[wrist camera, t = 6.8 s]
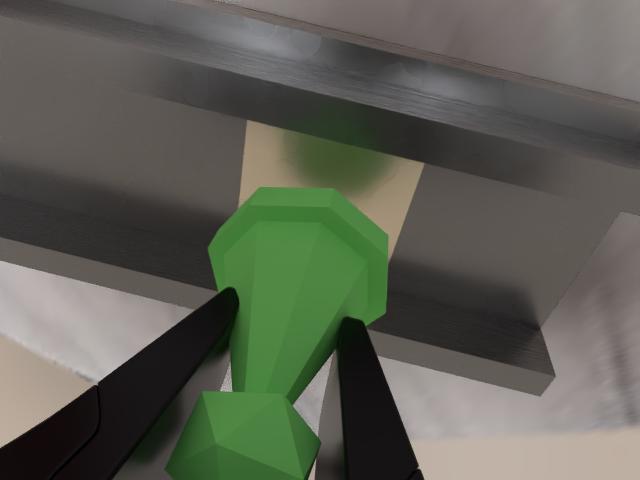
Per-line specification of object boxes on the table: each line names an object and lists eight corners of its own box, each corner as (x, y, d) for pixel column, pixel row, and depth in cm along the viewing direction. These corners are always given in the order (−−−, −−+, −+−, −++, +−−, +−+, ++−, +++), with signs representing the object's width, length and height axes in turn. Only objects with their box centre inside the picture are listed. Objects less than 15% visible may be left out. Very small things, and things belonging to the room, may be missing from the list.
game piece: (427, 223, 10) (443, 517, 5) (355, 344, 13) (321, 616, 8) (237, 151, 10) (70, 393, 5) (203, 290, 12) (71, 538, 8)
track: (662, 108, 12) (726, 157, 10) (513, 339, 17) (530, 409, 15) (-223, -105, 12) (-377, -109, 10) (-105, 185, 18) (-187, 228, 15)
